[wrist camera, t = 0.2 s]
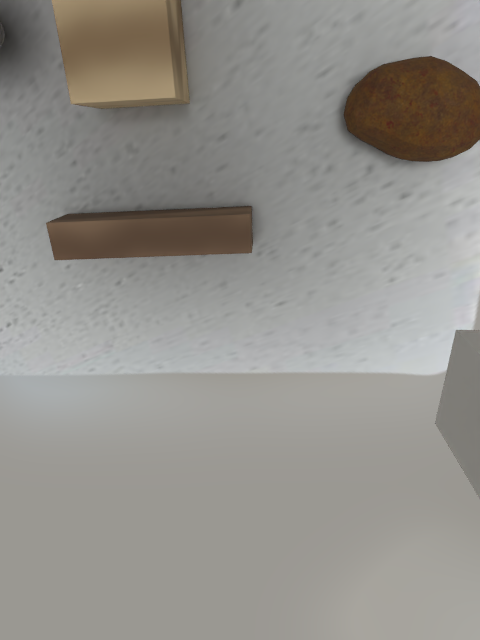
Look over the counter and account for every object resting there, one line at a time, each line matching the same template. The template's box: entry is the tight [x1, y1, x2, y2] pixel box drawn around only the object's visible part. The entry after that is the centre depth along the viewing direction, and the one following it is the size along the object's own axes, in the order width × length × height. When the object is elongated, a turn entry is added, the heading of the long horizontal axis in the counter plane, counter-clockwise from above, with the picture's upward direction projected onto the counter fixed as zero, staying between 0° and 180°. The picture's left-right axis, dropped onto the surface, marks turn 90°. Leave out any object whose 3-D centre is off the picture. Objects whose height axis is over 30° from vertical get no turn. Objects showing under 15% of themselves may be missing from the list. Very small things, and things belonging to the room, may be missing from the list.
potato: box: [344, 56, 480, 162], centre depth 30 cm, size 7×10×6 cm
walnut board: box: [46, 206, 253, 260], centre depth 35 cm, size 3×16×4 cm, turn 93°
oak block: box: [52, 0, 190, 109], centre depth 29 cm, size 7×7×6 cm
